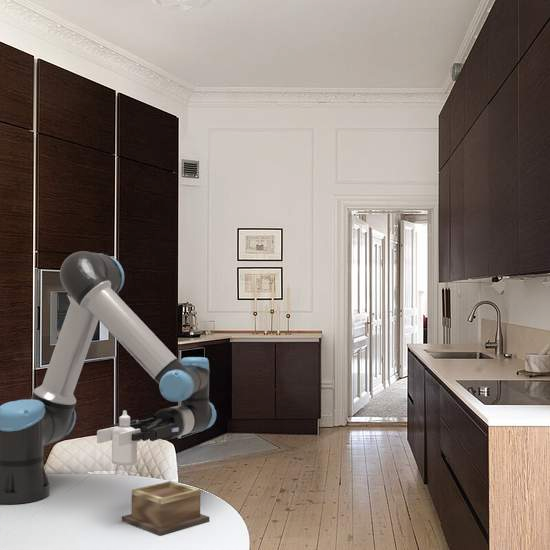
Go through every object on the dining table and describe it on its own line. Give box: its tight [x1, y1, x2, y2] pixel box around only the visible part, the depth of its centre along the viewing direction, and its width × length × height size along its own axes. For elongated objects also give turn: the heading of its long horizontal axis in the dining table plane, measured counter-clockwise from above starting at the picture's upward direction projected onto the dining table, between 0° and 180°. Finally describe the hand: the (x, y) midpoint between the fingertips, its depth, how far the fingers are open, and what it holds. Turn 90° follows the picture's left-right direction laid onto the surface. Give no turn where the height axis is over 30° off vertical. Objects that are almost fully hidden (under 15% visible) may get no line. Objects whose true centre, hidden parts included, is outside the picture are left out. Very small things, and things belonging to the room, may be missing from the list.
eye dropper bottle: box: [111, 410, 138, 466], centre depth 158 cm, size 4×6×12 cm
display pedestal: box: [121, 480, 210, 537], centre depth 157 cm, size 14×14×7 cm
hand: (109, 438), depth 154 cm, fingers closed on eye dropper bottle, 6 cm apart
